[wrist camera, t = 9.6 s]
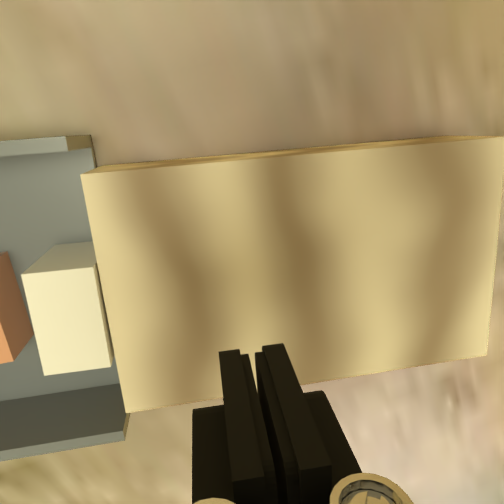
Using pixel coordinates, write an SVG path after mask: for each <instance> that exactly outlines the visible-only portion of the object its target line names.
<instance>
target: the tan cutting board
mask: <svg viewBox="0 0 504 504" xmlns="http://www.w3.org/2000/svg"><path fill="white" fill-rule="evenodd" d="M80 176H81V182H82V187H83V192H84V197H85V202H86V208H87V213H88V218H89V223H90V229H91V234H92V239H93V244H94V249H95V255H96V260H97V265H98V270H99V276H100V281H101V286H102V291H103V297H104V302H105V307H106V312H107V317H108V323H109V328H110V333H111V338H112V344H113V349H114V354H115V359H116V365H117V370H118V375H119V380H120V385H121V391H122V396H123V401H124V406H125V412H126V413H131V412H137V411H143V410H150V409H156V408H162V407H168V406H174V405H181V404H187V403H193V402H199V401H206V400H212V399H218V398H223V391H222V381H221V372H220V362H219V353H218V352H219V351H227V350H234V349H239V350H240V354H249V358H250V362H251V367H252V371H253V376H254V380H255V384H256V389H257V380H256V367H255V352H262V346H264V345H272V344H279V343H283V344H284V346H285V348H286V351H287V353H288V356H289V358H290V361H291V363H292V366H293V368H294V371H295V374H296V376H297V379H298V381H299V384H300V385H305V384H311V383H318V382H324V381H330V380H336V379H342V378H349V377H355V376H361V375H367V374H373V373H380V372H386V371H392V370H398V369H405V368H411V367H417V366H423V365H429V364H436V363H442V362H448V361H454V360H461V359H467V358H473V357H479V356H485V355H487V346H488V336H489V326H490V315H491V305H492V294H493V284H494V274H495V263H496V253H497V242H498V232H499V221H500V211H501V201H502V190H503V180H504V136H437V137H426V138H414V139H403V140H391V141H380V142H368V143H357V144H345V145H334V146H322V147H311V148H299V149H288V150H276V151H265V152H253V153H241V154H230V155H218V156H207V157H195V158H184V159H172V160H161V161H149V162H138V163H126V164H115V165H103V166H100V167H97V168H95V169H93V170H90V171H88V172H85V173H83V174H80Z"/></svg>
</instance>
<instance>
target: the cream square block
mask: <svg viewBox="0 0 504 504" xmlns="http://www.w3.org/2000/svg"><path fill="white" fill-rule="evenodd" d="M21 277H22V281H23V286H24V290H25V294H26V299H27V303H28V307H29V312H30V316H31V320H32V325H33V329H34V333H35V338H36V342H37V346H38V351H39V355H40V360H41V364H42V368H43V373H44V376H47V375H54V374H62V373H69V372H77V371H84V370H92V369H99V368H107V367H111V365H112V361H113V358H114V355H115V354H114V349H113V344H112V338H111V333H110V328H109V323H108V317H107V312H106V307H105V302H104V297H103V291H102V286H101V281H100V276H99V270H98V265H97V260H96V255H95V249H94V244H93V241H91V242H80V243H69V244H59V245H54V246H53V247H52V248H51V249H50V250H49V251H47V252H46V253H45V254H44V255H43V256H42V257H40V258H39V259H38V260H37V261H36V262H35V263H34V264H32V265H31V266H30V267H29V268H28V269H27V270H26V271H24V272H23V273H22V274H21Z"/></svg>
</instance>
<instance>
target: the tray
mask: <svg viewBox="0 0 504 504" xmlns="http://www.w3.org/2000/svg"><path fill="white" fill-rule="evenodd" d="M95 168H97V167H96V161H95V156H94V150H93V145H92V139H91V135H84V136H60V137H47V138H34V139H21V140H8V141H0V252H6V251H7V252H8V255H9V258H10V261H11V264H12V267H13V270H14V273H15V277H16V280H17V283H18V286H19V289H20V292H21V295H22V298H23V301H24V305H25V308H26V311H27V314H28V317H29V320H30V323H31V326H32V329H33V325H32V320H31V316H30V312H29V307H28V303H27V299H26V294H25V290H24V286H23V281H22V277H21V274H22V273H23V272H24V271H26V270H27V269H28V268H29V267H30V266H31V265H32V264H34V263H35V262H36V261H37V260H38V259H39V258H40V257H42V256H43V255H44V254H45V253H46V252H47V251H49V250H50V249H51V248H52V247H53V246H54V245H59V244H69V243H80V242H91V241H93V239H92V234H91V229H90V223H89V218H88V213H87V208H86V202H85V197H84V192H83V187H82V182H81V176H80V174H83V173H85V172H88V171H90V170H93V169H95ZM33 333H34V329H33ZM129 416H130V413H126V412H125V406H124V401H123V396H122V391H121V385H120V380H119V375H118V370H117V365H116V359H115V355H114V358H113V361H112V365H111V367H107V368H99V369H92V370H84V371H77V372H69V373H62V374H54V375H47V376H44V373H43V368H42V364H41V360H40V355H39V351H38V346H37V342H36V338H35V333H34V335H33V336H32V337H31V339H30V340H29V341H28V343H27V344H26V345H25V347H24V348H23V349H22V351H21V352H20V353H19V355H18V356H17V358H16V359H15V360H14V361H13V362H7V363H2V364H0V461H6V460H12V459H18V458H24V457H30V456H36V455H42V454H47V453H53V452H59V451H65V450H71V449H77V448H83V447H89V446H95V445H101V444H107V443H113V442H119V441H125V437H126V432H127V427H128V422H129Z"/></svg>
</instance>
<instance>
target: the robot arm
mask: <svg viewBox="0 0 504 504" xmlns="http://www.w3.org/2000/svg"><path fill="white" fill-rule="evenodd" d="M218 353H219V362H220V372H221V381H222V391H223V400H224V405H219V406H212V407H205V408H198V409H193V414H192V504H414V503H413V502H412V500H411V499H410V498H409V496H408V495H407V494H406V493H405V492H404V491H403V490H402V489H401V488H400V487H399V486H398V485H397V484H395V483H394V482H392V481H391V480H389V479H387V478H385V477H382V476H379V475H376V474H370V473H362V471H361V469H360V467H359V465H358V463H357V460H356V458H355V456H354V454H353V452H352V450H351V448H350V446H349V443H348V441H347V439H346V437H345V435H344V433H343V431H342V429H341V427H340V424H339V422H338V420H337V418H336V416H335V414H334V412H333V410H332V407H331V405H330V403H329V401H328V399H327V397H326V395H325V393H324V392H323V391H322V390H321V391H314V392H307V393H303V391H302V389H301V386H300V384H299V381H298V379H297V376H296V374H295V371H294V368H293V366H292V363H291V361H290V358H289V356H288V353H287V351H286V348H285V346H284V344H283V343H279V344H272V345H264V346H262V352H255V367H256V380H257V389H256V384H255V380H254V376H253V371H252V367H251V362H250V358H249V354H240V350H239V349H234V350H227V351H219V352H218ZM257 392H258V393H257Z"/></svg>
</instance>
